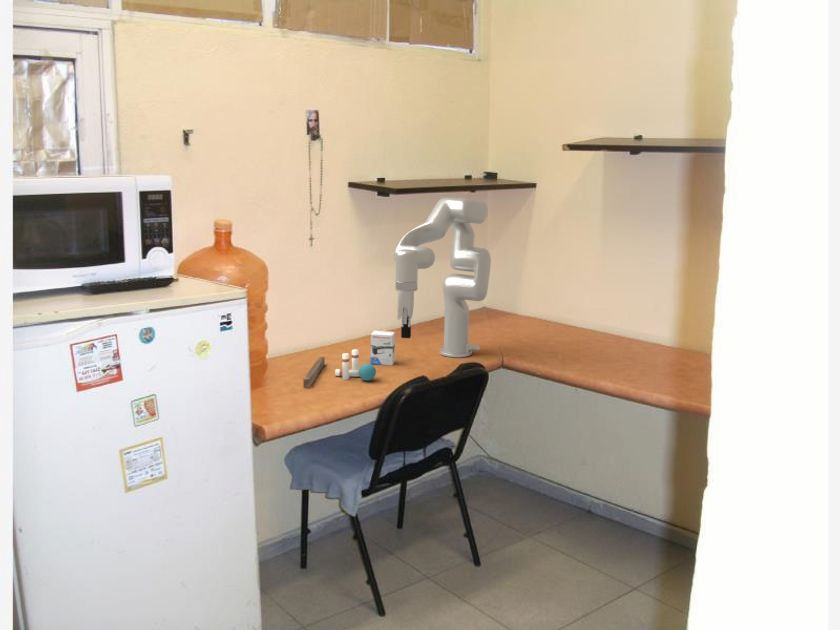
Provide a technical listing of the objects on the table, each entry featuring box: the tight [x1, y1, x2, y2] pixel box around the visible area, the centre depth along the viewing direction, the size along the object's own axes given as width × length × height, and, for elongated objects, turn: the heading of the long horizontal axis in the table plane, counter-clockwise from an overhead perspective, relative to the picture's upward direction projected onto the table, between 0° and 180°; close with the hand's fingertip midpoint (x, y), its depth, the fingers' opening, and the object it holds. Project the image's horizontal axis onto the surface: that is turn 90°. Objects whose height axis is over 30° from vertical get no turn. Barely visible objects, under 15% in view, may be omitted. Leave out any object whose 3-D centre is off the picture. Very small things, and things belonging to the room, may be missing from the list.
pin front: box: [334, 368, 361, 378], centre depth 282 cm, size 2×2×9 cm
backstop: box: [302, 356, 326, 389], centre depth 282 cm, size 2×28×3 cm, turn 176°
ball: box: [359, 363, 377, 382], centre depth 278 cm, size 6×6×6 cm
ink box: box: [370, 330, 396, 366], centre depth 298 cm, size 8×5×12 cm, turn 82°
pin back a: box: [351, 348, 360, 370], centre depth 284 cm, size 2×2×9 cm
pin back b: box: [341, 352, 350, 381], centre depth 278 cm, size 2×2×9 cm
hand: (406, 337), depth 278 cm, fingers closed
